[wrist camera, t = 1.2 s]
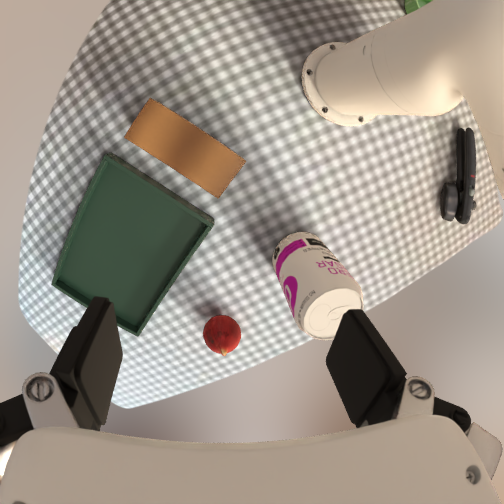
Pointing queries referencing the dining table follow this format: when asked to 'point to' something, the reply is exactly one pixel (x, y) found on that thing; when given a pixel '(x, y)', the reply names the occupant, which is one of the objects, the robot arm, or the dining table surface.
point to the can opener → (461, 181)
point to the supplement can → (315, 284)
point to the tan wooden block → (184, 147)
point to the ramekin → (414, 5)
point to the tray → (128, 243)
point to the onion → (222, 334)
